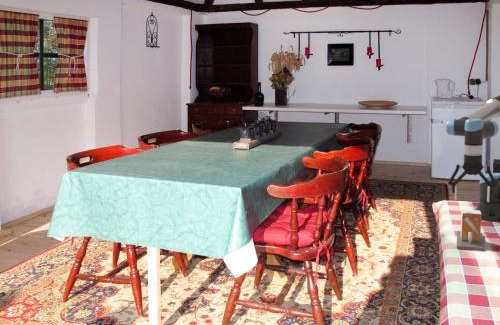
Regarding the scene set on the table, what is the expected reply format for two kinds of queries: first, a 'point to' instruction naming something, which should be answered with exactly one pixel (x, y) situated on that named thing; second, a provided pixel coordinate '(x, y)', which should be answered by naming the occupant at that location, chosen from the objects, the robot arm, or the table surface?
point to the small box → (470, 224)
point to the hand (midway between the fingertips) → (471, 200)
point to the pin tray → (470, 243)
